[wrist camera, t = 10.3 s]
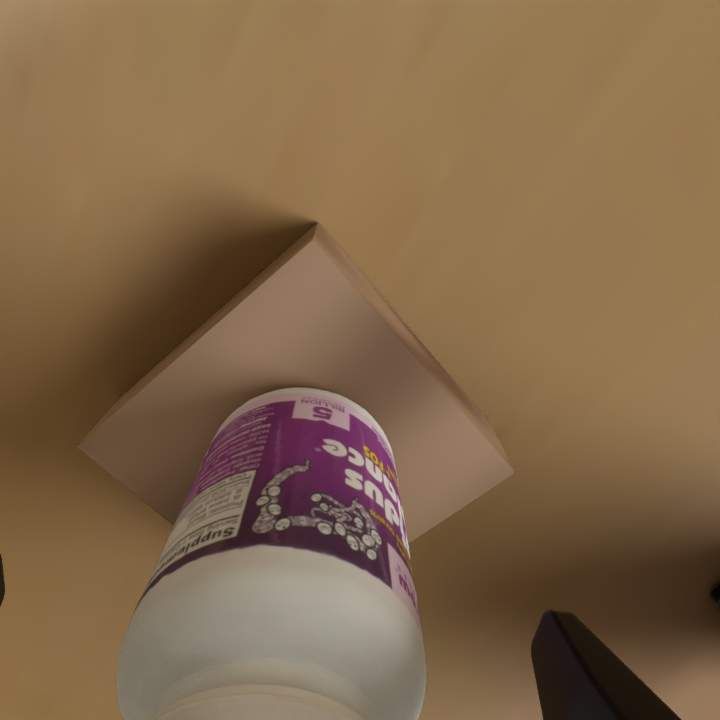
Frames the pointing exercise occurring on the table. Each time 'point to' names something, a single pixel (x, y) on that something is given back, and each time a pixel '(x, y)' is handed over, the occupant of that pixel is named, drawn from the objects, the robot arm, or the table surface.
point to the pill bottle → (282, 578)
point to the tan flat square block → (303, 370)
